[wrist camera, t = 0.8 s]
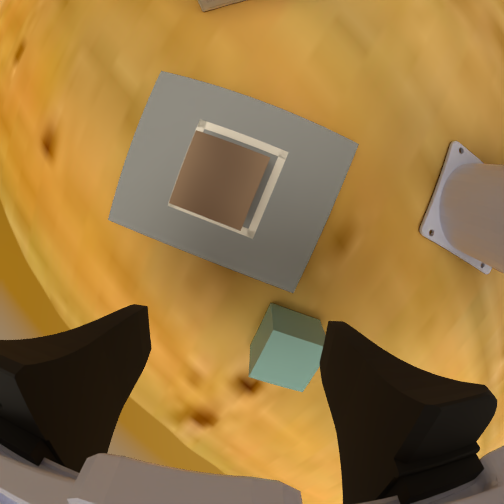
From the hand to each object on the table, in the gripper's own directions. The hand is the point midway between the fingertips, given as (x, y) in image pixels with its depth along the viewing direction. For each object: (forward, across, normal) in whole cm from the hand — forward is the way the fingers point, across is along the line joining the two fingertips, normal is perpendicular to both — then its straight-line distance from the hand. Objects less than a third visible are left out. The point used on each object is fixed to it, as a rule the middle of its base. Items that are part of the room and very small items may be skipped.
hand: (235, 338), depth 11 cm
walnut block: (+9, +2, -6) cm, 11 cm away
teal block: (+10, -3, +5) cm, 12 cm away
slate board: (+10, +2, -6) cm, 11 cm away
